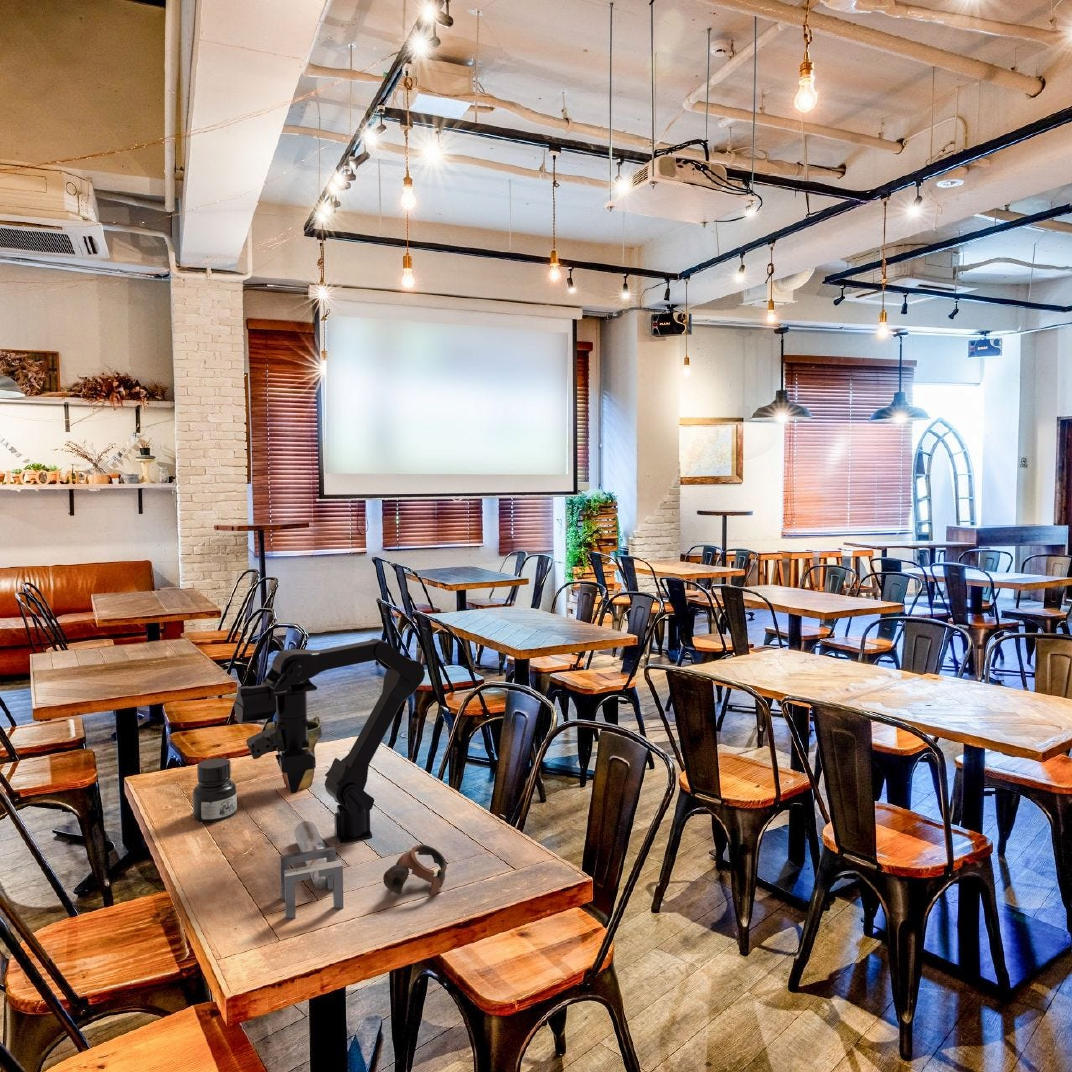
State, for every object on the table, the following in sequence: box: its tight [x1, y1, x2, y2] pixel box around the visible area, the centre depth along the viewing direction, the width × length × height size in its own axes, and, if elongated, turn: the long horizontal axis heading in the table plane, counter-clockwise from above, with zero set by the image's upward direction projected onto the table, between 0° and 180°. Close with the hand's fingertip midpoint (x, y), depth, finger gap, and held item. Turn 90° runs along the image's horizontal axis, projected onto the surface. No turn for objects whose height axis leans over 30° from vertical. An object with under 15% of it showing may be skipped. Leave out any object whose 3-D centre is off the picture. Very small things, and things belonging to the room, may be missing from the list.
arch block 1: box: [279, 846, 337, 902], centre depth 143 cm, size 9×1×8 cm, turn 114°
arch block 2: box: [284, 859, 344, 921], centre depth 136 cm, size 9×1×8 cm, turn 114°
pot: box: [264, 715, 323, 791], centre depth 194 cm, size 17×11×18 cm, turn 150°
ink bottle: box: [192, 757, 238, 824], centre depth 178 cm, size 10×9×12 cm
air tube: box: [293, 820, 327, 891], centre depth 154 cm, size 22×4×4 cm
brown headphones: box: [383, 844, 448, 897], centre depth 143 cm, size 12×9×8 cm
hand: (293, 792), depth 159 cm, fingers closed
